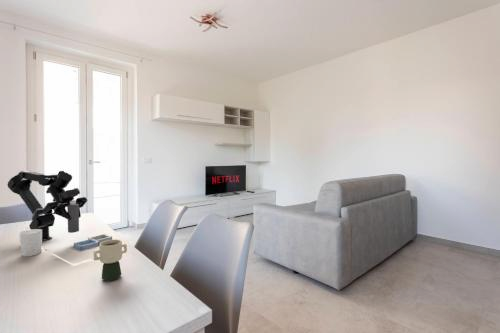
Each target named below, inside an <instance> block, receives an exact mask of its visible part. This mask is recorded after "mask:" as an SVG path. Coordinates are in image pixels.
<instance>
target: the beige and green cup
mask: <svg viewBox="0 0 500 333" xmlns="http://www.w3.org/2000/svg"><path fill="white" fill-rule="evenodd" d="M122 241H123V240H121V239H112V240H107V241H104V242H101V243H99V245H98V247H99V249H97V250H95V251H93V260H94V261H100V263H102V268H101V269H102V270H101V280H103V281H115V280H118V279H119V278H120V277H121V276H122V271H121V270H122V269H121V264H120V260H122V258H123V255H124V254H127V251H128V246H127V243H122ZM98 254H99V255H98Z"/></svg>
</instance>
